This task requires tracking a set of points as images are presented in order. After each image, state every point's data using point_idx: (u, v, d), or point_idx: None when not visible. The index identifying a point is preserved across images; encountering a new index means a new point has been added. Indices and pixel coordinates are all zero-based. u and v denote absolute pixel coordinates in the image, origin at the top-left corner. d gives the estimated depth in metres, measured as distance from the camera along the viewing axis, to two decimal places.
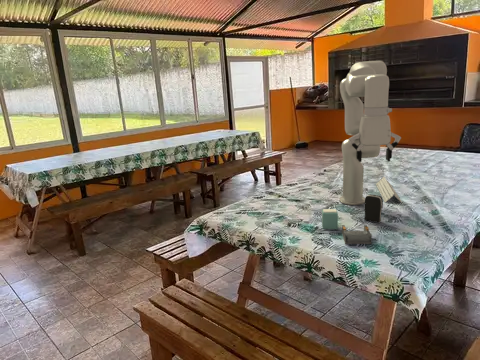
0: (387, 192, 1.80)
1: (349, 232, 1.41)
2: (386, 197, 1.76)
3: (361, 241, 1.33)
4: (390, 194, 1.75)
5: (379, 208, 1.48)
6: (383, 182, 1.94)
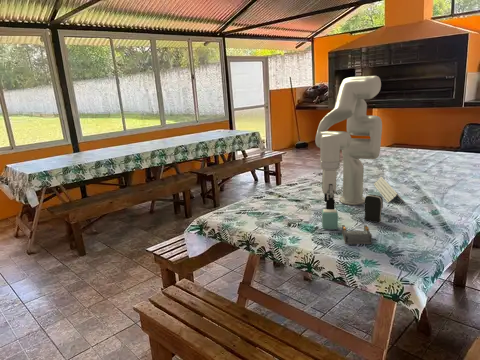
0: (389, 192, 1.79)
1: (349, 232, 1.41)
2: (388, 197, 1.75)
3: (361, 241, 1.33)
4: (393, 194, 1.74)
5: (379, 208, 1.48)
6: (382, 182, 1.94)
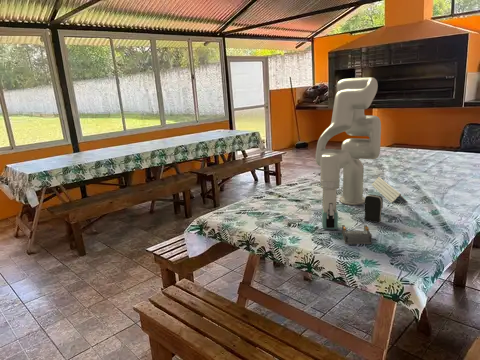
0: (390, 192, 1.79)
1: (349, 232, 1.41)
2: (391, 197, 1.75)
3: (361, 241, 1.33)
4: (395, 194, 1.74)
5: (379, 208, 1.48)
6: (380, 182, 1.94)
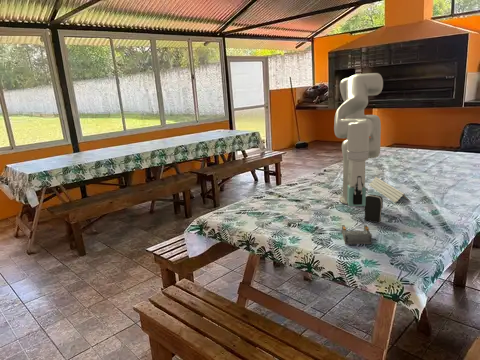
0: (392, 192, 1.79)
1: (349, 232, 1.41)
2: (394, 197, 1.75)
3: (361, 241, 1.33)
4: (398, 194, 1.74)
5: (379, 208, 1.48)
6: (379, 182, 1.94)
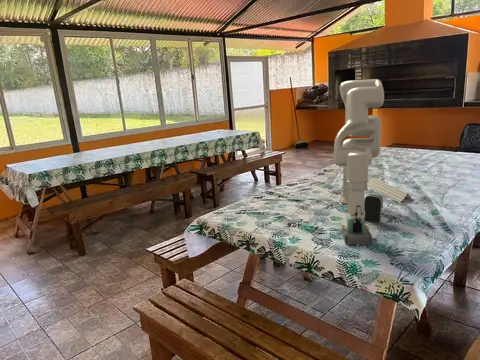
0: (394, 192, 1.79)
1: None
2: (397, 197, 1.75)
3: (361, 241, 1.33)
4: (401, 194, 1.74)
5: (379, 208, 1.48)
6: (377, 183, 1.94)
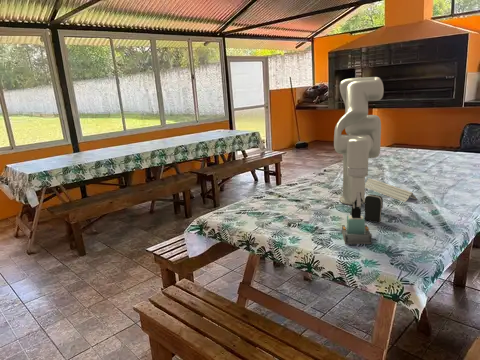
0: (396, 192, 1.79)
1: None
2: (401, 197, 1.75)
3: (361, 241, 1.33)
4: (405, 193, 1.74)
5: (379, 208, 1.48)
6: (375, 183, 1.93)
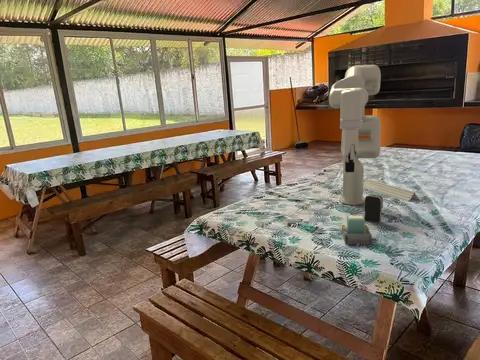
0: (398, 192, 1.79)
1: None
2: (403, 197, 1.75)
3: (361, 241, 1.33)
4: (407, 193, 1.75)
5: (379, 208, 1.48)
6: (374, 183, 1.93)
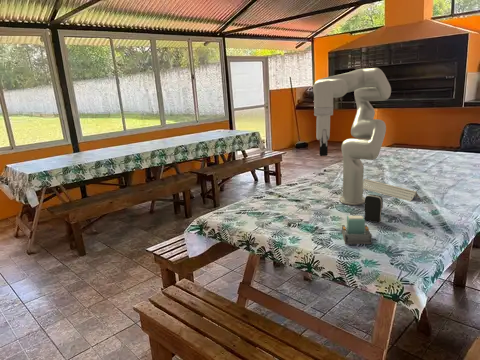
0: (399, 191, 1.79)
1: None
2: (405, 196, 1.75)
3: (361, 241, 1.33)
4: (408, 192, 1.75)
5: (379, 208, 1.48)
6: (373, 184, 1.93)
